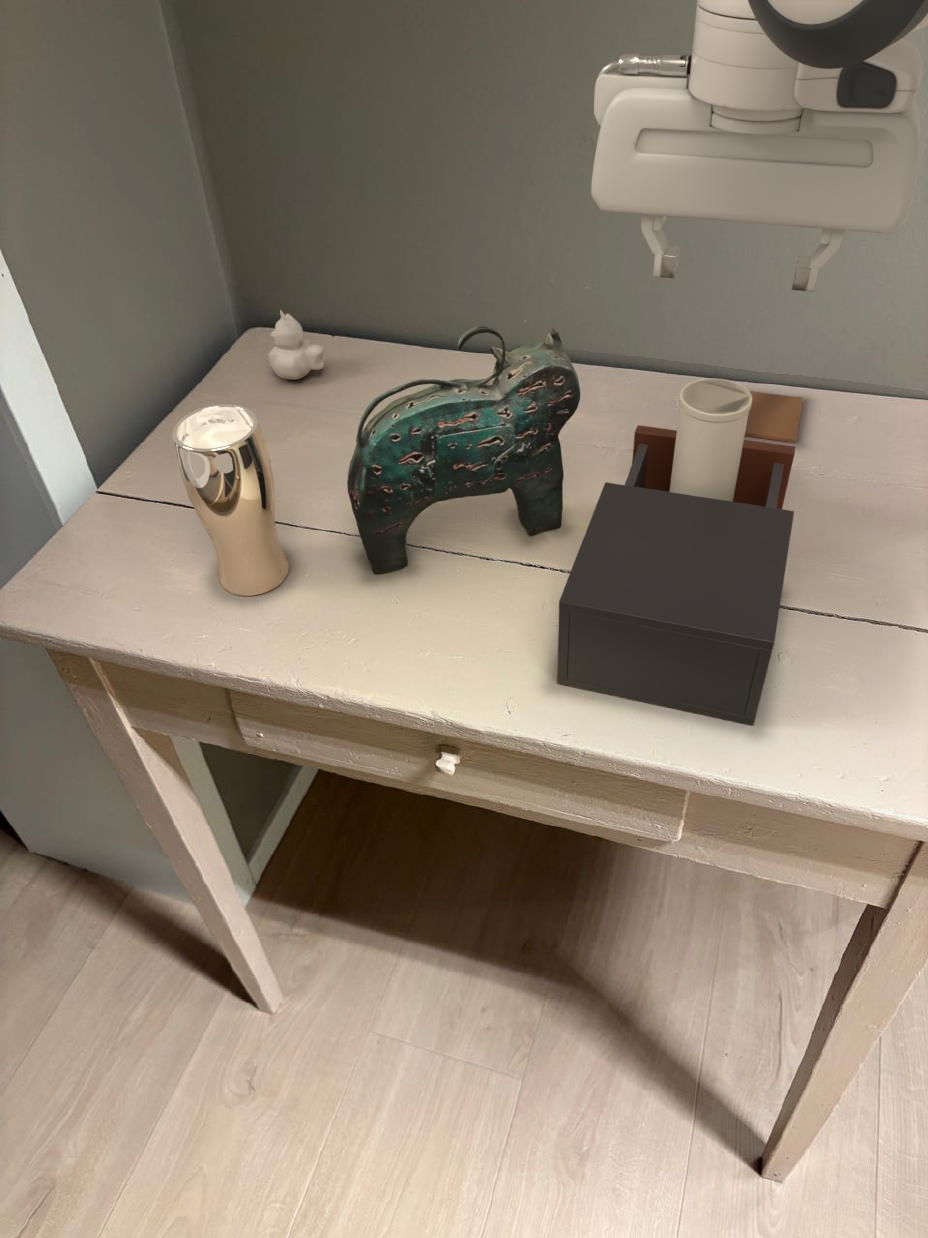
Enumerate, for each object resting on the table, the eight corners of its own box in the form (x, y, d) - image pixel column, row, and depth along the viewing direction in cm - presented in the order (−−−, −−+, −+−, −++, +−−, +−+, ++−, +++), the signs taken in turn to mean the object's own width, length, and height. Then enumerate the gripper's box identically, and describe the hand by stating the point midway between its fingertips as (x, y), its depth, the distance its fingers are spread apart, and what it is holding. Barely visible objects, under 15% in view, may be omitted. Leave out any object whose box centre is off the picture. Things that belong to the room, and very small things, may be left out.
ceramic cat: (559, 496, 90) (564, 292, 76) (587, 537, 85) (598, 328, 71) (354, 547, 86) (319, 342, 72) (372, 593, 81) (338, 383, 68)
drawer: (641, 461, 92) (646, 399, 87) (786, 482, 88) (800, 419, 83) (598, 581, 80) (602, 516, 75) (764, 611, 76) (779, 545, 71)
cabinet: (600, 563, 83) (605, 481, 77) (774, 594, 79) (794, 510, 73) (556, 684, 73) (558, 601, 67) (753, 726, 69) (774, 642, 63)
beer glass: (307, 555, 85) (276, 408, 75) (271, 606, 81) (232, 458, 70) (238, 542, 87) (198, 397, 77) (199, 591, 83) (151, 444, 72)
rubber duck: (282, 361, 111) (269, 295, 105) (336, 366, 110) (325, 299, 104) (264, 385, 107) (249, 318, 102) (319, 390, 106) (307, 323, 100)
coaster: (802, 400, 99) (803, 397, 99) (795, 442, 94) (796, 439, 94) (724, 391, 102) (724, 387, 101) (712, 431, 96) (713, 428, 96)
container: (732, 515, 83) (756, 382, 74) (723, 554, 80) (747, 419, 71) (670, 505, 85) (686, 374, 76) (658, 543, 81) (674, 409, 72)
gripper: (583, 66, 58) (576, 286, 67) (949, 80, 52) (884, 317, 62) (606, 39, 62) (596, 249, 72) (947, 49, 57) (887, 275, 66)
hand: (733, 281), depth 67 cm, fingers open, 8 cm apart
